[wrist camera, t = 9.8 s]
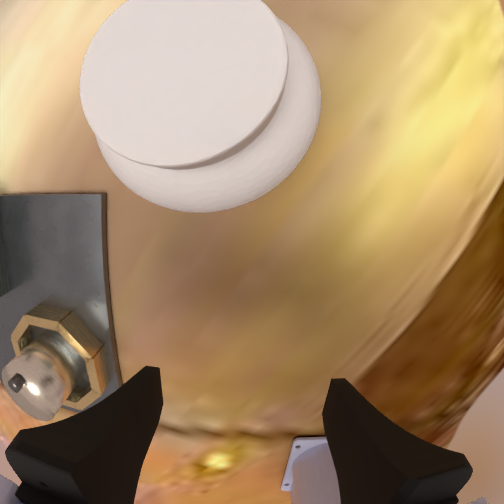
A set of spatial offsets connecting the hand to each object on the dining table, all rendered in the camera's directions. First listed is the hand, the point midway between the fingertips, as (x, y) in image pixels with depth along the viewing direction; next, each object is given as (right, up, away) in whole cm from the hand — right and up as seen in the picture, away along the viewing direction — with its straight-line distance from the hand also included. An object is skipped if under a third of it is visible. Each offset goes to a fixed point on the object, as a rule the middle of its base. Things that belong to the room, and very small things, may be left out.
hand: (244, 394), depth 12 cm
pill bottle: (-1, +13, +7) cm, 15 cm away
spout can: (-16, -3, +10) cm, 18 cm away
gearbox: (-18, +1, +10) cm, 21 cm away
